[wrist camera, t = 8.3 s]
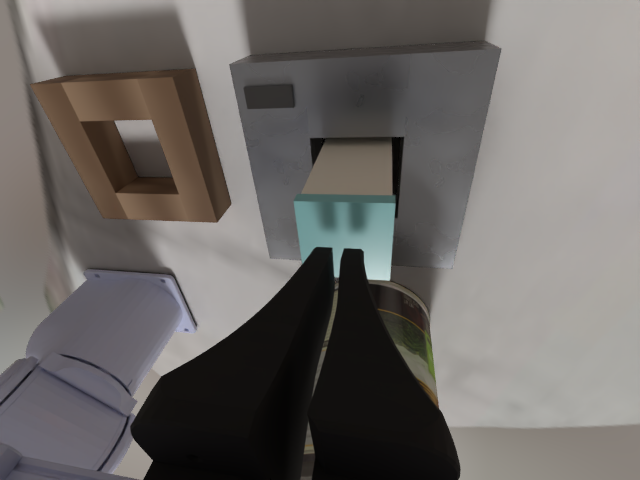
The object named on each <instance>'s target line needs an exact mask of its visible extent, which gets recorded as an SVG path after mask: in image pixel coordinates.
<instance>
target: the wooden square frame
mask: <svg viewBox="0 0 640 480" xmlns="http://www.w3.org/2000/svg"><path fill="white" fill-rule="evenodd" d="M30 86H31V87H32V89H33V91H34V93H35V95H36V97H37V98H38V100H39V102H40V104H41V106H42V108H43V109H44V111H45V113H46V115H47V117H48V118H49V120H50V122H51V124H52V126H53V128H54V129H55V131H56V133H57V135H58V137H59V139H60V140H61V142H62V144H63V146H64V148H65V150H66V151H67V153H68V155H69V157H70V159H71V160H72V162H73V164H74V166H75V168H76V170H77V171H78V173H79V175H80V177H81V179H82V181H83V182H84V184H85V186H86V188H87V190H88V191H89V193H90V195H91V197H92V199H93V201H94V202H95V204H96V206H97V208H98V210H99V212H100V213H101V215H102V217H103V218H108V219H135V220H162V221H189V222H216V223H217V222H218V221H219V220H220V218H221V217H222V216H223V214H224V213H225V212H226V210H227V209H228V208H229V206H230V205H231V201H230V197H229V193H228V190H227V186H226V182H225V178H224V175H223V171H222V167H221V163H220V160H219V156H218V152H217V148H216V145H215V141H214V137H213V133H212V130H211V126H210V122H209V118H208V115H207V111H206V107H205V103H204V99H203V96H202V92H201V88H200V84H199V81H198V77H197V73H196V69H181V70H163V71H145V72H127V73H109V74H91V75H74V76H63V77H58V78H54V79H50V80H46V81H42V82H38V83H34V84H30ZM113 120H152V122H153V125H154V127H155V130H156V133H157V135H158V138H159V141H160V144H161V146H162V149H163V152H164V155H165V157H166V160H167V163H168V165H169V168H170V171H171V174H172V176H173V178H169V177H138V176H137V174H136V171H135V169H134V167H133V165H132V162H131V160H130V158H129V155H128V153H127V151H126V148H125V146H124V144H123V142H122V139H121V137H120V135H119V132H118V130H117V128H116V126H115V123H114V121H113Z"/></svg>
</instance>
